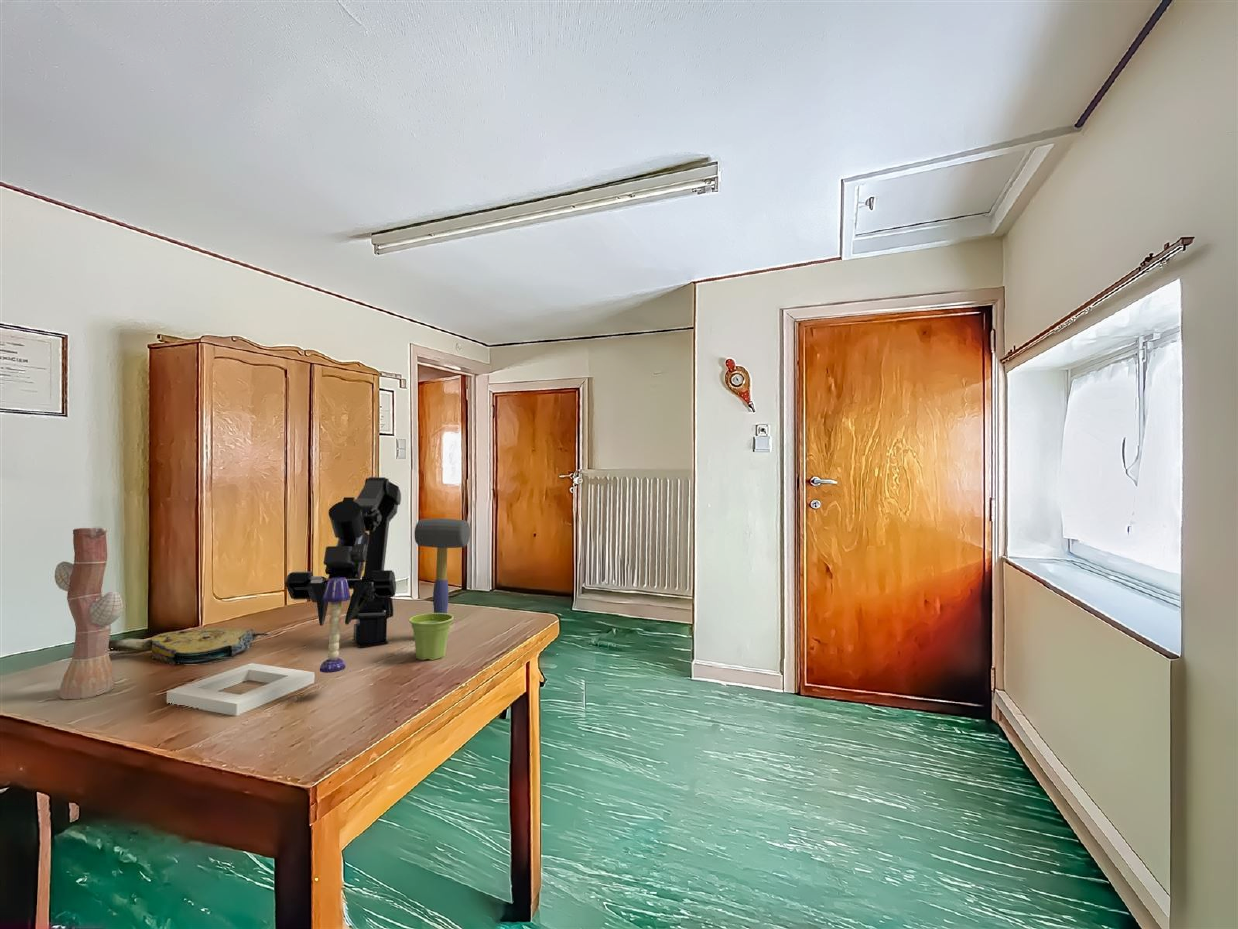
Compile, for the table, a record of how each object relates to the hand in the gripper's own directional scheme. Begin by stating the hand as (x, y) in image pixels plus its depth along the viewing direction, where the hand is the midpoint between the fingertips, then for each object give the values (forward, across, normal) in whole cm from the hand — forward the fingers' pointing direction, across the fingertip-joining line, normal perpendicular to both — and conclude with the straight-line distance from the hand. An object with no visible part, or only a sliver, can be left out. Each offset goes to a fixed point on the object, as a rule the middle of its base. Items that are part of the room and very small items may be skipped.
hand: (333, 624), depth 101 cm
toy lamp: (+5, 0, +7) cm, 9 cm away
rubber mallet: (-16, +16, +35) cm, 42 cm away
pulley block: (-12, -38, +32) cm, 51 cm away
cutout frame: (+6, -16, +13) cm, 21 cm away
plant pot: (-5, +15, +25) cm, 29 cm away
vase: (+2, -44, +17) cm, 47 cm away
